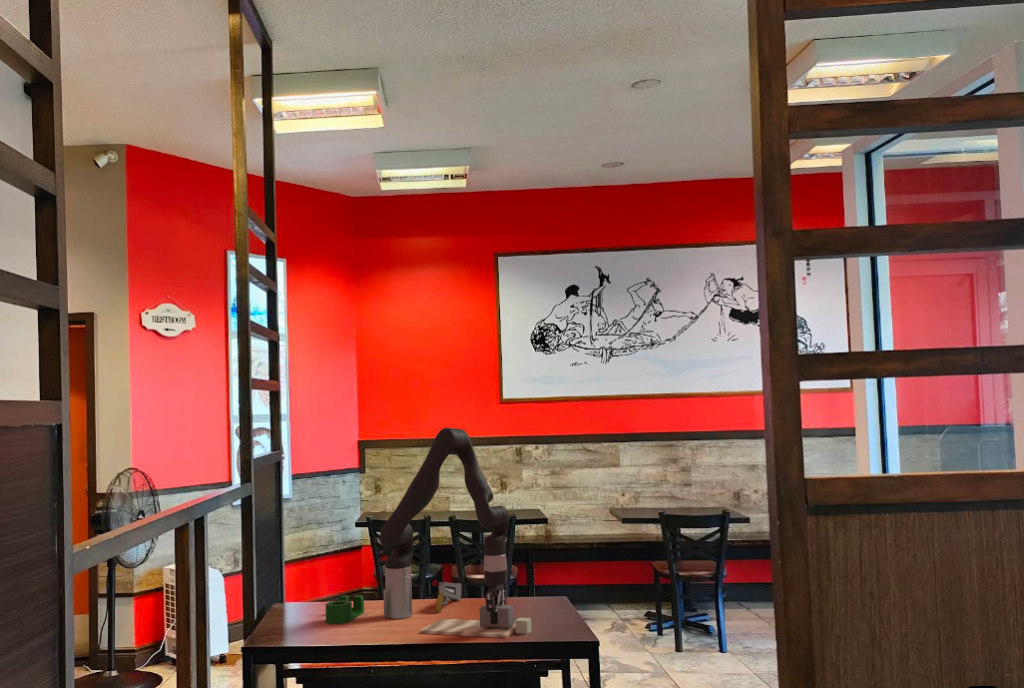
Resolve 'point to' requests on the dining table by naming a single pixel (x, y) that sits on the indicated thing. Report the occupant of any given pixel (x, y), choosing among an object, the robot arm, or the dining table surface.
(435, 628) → the plywood board
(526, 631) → the wood offcut
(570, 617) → the dining table surface
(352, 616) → the green bracket
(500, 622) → the block
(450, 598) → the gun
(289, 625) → the dining table surface
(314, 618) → the dining table surface
